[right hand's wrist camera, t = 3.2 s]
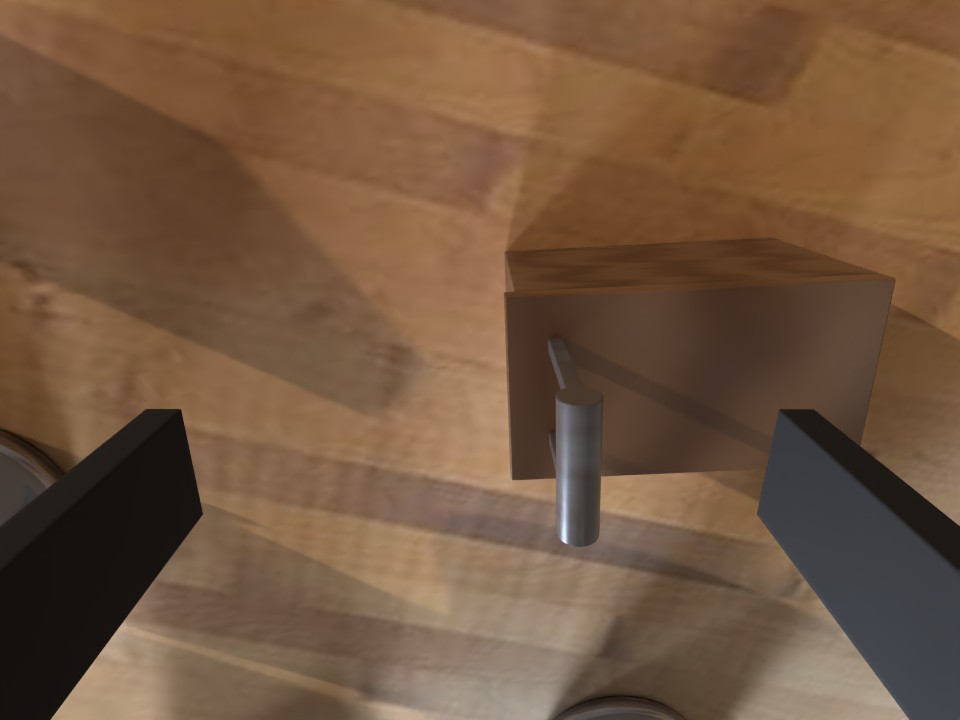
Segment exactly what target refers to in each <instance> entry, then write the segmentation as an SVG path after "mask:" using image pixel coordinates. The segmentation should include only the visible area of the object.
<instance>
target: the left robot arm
mask: <svg viewBox="0 0 960 720" xmlns="http://www.w3.org/2000/svg"><path fill="white" fill-rule="evenodd" d="M554 720H684V719H683V718H682V717H681V716H680V715H679V714H677V713H676V712H675V711H673V710H672V709H670V708H668V707H666V706H664V705H662V704H659V703H657V702H654V701H650V700H646V699H641V698H634V697H609V698H602V699H597V700H592V701H589V702H586V703H583V704H580V705H577V706H575V707H573V708H571V709H569V710H567V711H565V712H564V713H562V714H561V715H559V716H558V717H556V718H555V719H554Z"/></svg>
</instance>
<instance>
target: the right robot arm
mask: <svg viewBox="0 0 960 720" xmlns="http://www.w3.org/2000/svg"><path fill="white" fill-rule="evenodd" d="M202 515H203V512H202V507H201V502H200V498H199V493H198V488H197V483H196V478H195V474H194V469H193V464H192V459H191V454H190V450H189V445H188V440H187V435H186V430H185V426H184V421H183V416H182V411H181V409H146V410H145V411H143V412H142V413H141V414H140V415H138V416H137V417H136V418H135V419H133V420H132V421H131V422H130V423H128V424H127V425H126V426H125V427H123V428H122V429H121V430H120V431H118V432H117V433H116V434H115V435H113V436H112V437H111V438H110V439H108V440H107V441H106V442H105V443H103V444H102V445H101V446H100V447H98V448H97V449H96V450H95V451H93V452H92V453H91V454H90V455H89V456H87V457H86V458H85V459H84V460H82V461H81V462H80V463H79V464H77V465H76V466H75V467H74V468H72V469H71V470H70V471H69V472H67V473H66V474H65V475H63V473H62V472H61V471H60V470H59V469H58V468H57V467H56V466H55V465H54V464H53V463H52V462H51V461H50V460H49V459H48V458H47V457H45V456H44V455H43V454H42V453H40V452H39V451H38V450H36V449H35V448H33V447H32V446H31V445H29V444H27V443H26V442H24V441H22V440H21V439H19V438H17V437H15V436H13V435H11V434H9V433H6V432H4V431H1V430H0V720H51V718H52V717H53V716H54V714H55V713H56V711H57V710H58V709H59V707H60V706H61V705H62V703H63V702H64V701H65V699H66V698H67V697H68V695H69V694H70V693H71V691H72V690H73V689H74V687H75V686H76V685H77V683H78V682H79V681H80V679H81V678H82V676H83V675H84V674H85V672H86V671H87V670H88V668H89V667H90V666H91V664H92V663H93V662H94V660H95V659H96V658H97V656H98V655H99V654H100V652H101V651H102V650H103V648H104V647H105V645H106V644H107V643H108V641H109V640H110V639H111V637H112V636H113V635H114V633H115V632H116V631H117V629H118V628H119V627H120V625H121V624H122V623H123V621H124V620H125V619H126V617H127V616H128V615H129V613H130V612H131V610H132V609H133V608H134V606H135V605H136V604H137V602H138V601H139V600H140V598H141V597H142V596H143V594H144V593H145V592H146V590H147V589H148V588H149V586H150V585H151V584H152V582H153V581H154V580H155V578H156V577H157V575H158V574H159V573H160V571H161V570H162V569H163V567H164V566H165V565H166V563H167V562H168V561H169V559H170V558H171V557H172V555H173V554H174V553H175V551H176V550H177V549H178V547H179V546H180V544H181V543H182V542H183V540H184V539H185V538H186V536H187V535H188V534H189V532H190V531H191V530H192V528H193V527H194V526H195V524H196V523H197V522H198V520H199V519H200V518H201V516H202ZM757 515H758V516H759V518H760V519H761V520H762V522H763V523H764V524H765V526H766V527H767V528H768V530H769V531H770V532H771V534H772V535H773V536H774V538H775V539H776V540H777V542H778V543H779V544H780V546H781V547H782V549H783V550H784V551H785V553H786V554H787V555H788V557H789V558H790V559H791V561H792V562H793V563H794V565H795V566H796V567H797V569H798V570H799V571H800V573H801V574H802V575H803V577H804V578H805V580H806V581H807V582H808V584H809V585H810V586H811V588H812V589H813V590H814V592H815V593H816V594H817V596H818V597H819V598H820V600H821V601H822V602H823V604H824V605H825V606H826V608H827V609H828V610H829V612H830V613H831V615H832V616H833V617H834V619H835V620H836V621H837V623H838V624H839V625H840V627H841V628H842V629H843V631H844V632H845V633H846V635H847V636H848V637H849V639H850V640H851V641H852V643H853V644H854V645H855V647H856V648H857V650H858V651H859V652H860V654H861V655H862V656H863V658H864V659H865V660H866V662H867V663H868V664H869V666H870V667H871V668H872V670H873V671H874V672H875V674H876V675H877V676H878V678H879V679H880V681H881V682H882V683H883V685H884V686H885V687H886V689H887V690H888V691H889V693H890V694H891V695H892V697H893V698H894V699H895V701H896V702H897V703H898V705H899V706H900V707H901V709H902V710H903V711H904V713H905V714H906V716H907V717H908V718H909V720H960V526H959V525H957V524H956V523H955V522H954V521H952V520H951V519H950V518H949V517H947V516H946V515H945V514H944V513H942V512H941V511H940V510H939V509H937V508H936V507H935V506H934V505H933V504H931V503H930V502H929V501H928V500H926V499H925V498H924V497H923V496H921V495H920V494H919V493H918V492H916V491H915V490H914V489H913V488H911V487H910V486H909V485H908V484H906V483H905V482H904V481H903V480H901V479H900V478H899V477H898V476H896V475H895V474H894V473H893V472H891V471H890V470H889V469H888V468H886V467H885V466H884V465H883V464H881V463H880V462H879V461H878V460H876V459H875V458H874V457H873V456H871V455H870V454H869V453H868V452H867V451H865V450H864V449H863V448H862V447H860V446H859V445H858V444H857V443H855V442H854V441H853V440H852V439H850V438H849V437H848V436H847V435H845V434H844V433H843V432H842V431H840V430H839V429H838V428H837V427H835V426H834V425H833V424H832V423H830V422H829V421H828V420H827V419H825V418H824V417H823V416H822V415H820V414H819V413H818V412H817V411H815V410H814V409H779V411H778V416H777V421H776V426H775V430H774V435H773V440H772V445H771V450H770V454H769V459H768V464H767V469H766V474H765V478H764V483H763V488H762V493H761V498H760V502H759V507H758V512H757Z"/></svg>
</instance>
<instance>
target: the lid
mask: <svg viewBox="0 0 960 720" xmlns="http://www.w3.org/2000/svg"><path fill="white" fill-rule="evenodd" d="M894 284H895V278H892V277H889V276H886V275H883V274H861V275H841V276H821V277H801V278H781V279H761V280H740V281H720V282H700V283H680V284H660V285H640V286H620V287H600V288H580V289H560V290H540V291H520V292H505V293H504V308H505V335H506V363H507V390H508V417H509V445H510V470H511V479H512V480H529V479H552V478H556V533H557V536H558V537H559V539H560V540H561V541H563V542H564V543H566V544H568V545H571V546H577V547H582V546H588V545H591V544H593V543H594V542H595V541H596V540H597V539H598V537H599V527H600V493H601V476H620V475H642V474H665V473H688V472H710V471H733V470H755V469H767V464H768V459H769V454H770V450H771V445H772V440H773V435H774V430H775V426H776V421H777V416H778V411H779V409H814V410H815V411H817V412H818V413H819V414H820V415H822V416H823V417H824V418H825V419H827V420H828V421H829V422H830V423H832V424H833V425H834V426H835V427H837V428H838V429H839V430H840V431H842V432H843V433H844V434H845V435H847V436H848V437H849V438H850V439H852V440H853V441H854V442H855V443H857V444H858V445H859V446H860V443H861V439H862V434H863V429H864V425H865V420H866V415H867V411H868V406H869V401H870V397H871V392H872V387H873V382H874V378H875V373H876V368H877V364H878V359H879V354H880V350H881V345H882V340H883V336H884V331H885V326H886V322H887V317H888V312H889V308H890V303H891V298H892V294H893V289H894Z"/></svg>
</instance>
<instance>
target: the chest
mask: <svg viewBox="0 0 960 720" xmlns="http://www.w3.org/2000/svg"><path fill="white" fill-rule="evenodd" d="M505 274H506V292H520V291H540V290H560V289H580V288H600V287H620V286H640V285H660V284H680V283H700V282H720V281H740V280H761V279H781V278H801V277H821V276H841V275H861V274H878V273H877V272H874V271H871V270H868V269H865V268H861V267H858V266H855V265H852V264H849V263H846V262H843V261H840V260H837V259H834V258H831V257H828V256H825V255H822V254H819V253H816V252H813V251H810V250H807V249H804V248H801V247H798V246H795V245H792V244H789V243H786V242H783V241H780V240H777V239H774V238H763V239H743V240H724V241H704V242H684V243H665V244H645V245H626V246H606V247H586V248H567V249H547V250H527V251H508V252H505Z"/></svg>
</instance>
